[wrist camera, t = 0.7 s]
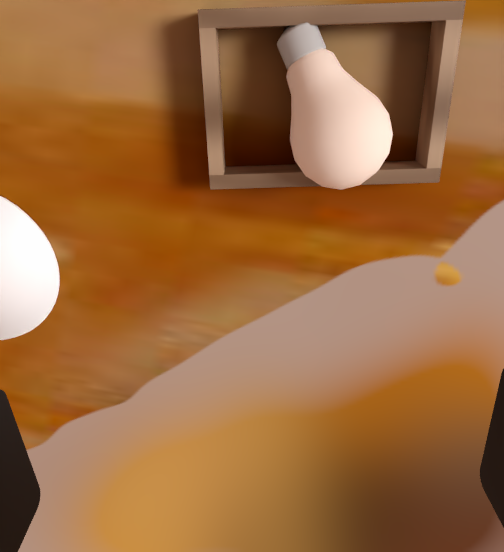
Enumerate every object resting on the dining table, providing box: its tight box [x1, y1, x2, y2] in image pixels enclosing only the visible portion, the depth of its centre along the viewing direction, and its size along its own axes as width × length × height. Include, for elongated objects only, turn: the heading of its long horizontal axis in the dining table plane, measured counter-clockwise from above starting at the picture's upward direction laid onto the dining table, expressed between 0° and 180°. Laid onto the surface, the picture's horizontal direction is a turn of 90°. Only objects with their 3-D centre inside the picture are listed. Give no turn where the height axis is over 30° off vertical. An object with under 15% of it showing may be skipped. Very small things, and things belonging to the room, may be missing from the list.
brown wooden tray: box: [198, 1, 466, 189], centre depth 32 cm, size 11×16×2 cm
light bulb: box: [277, 22, 393, 190], centre depth 30 cm, size 7×7×11 cm
